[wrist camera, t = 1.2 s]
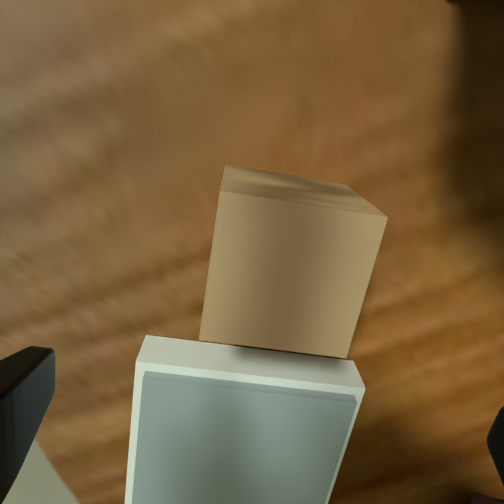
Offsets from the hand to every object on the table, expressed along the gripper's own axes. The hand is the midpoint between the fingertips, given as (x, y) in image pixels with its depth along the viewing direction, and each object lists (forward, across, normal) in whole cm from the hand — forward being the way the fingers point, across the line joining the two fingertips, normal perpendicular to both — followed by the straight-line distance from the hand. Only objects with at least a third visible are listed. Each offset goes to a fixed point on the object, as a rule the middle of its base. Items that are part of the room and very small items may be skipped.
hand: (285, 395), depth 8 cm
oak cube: (+13, -1, +1) cm, 13 cm away
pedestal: (+13, -1, +14) cm, 19 cm away
